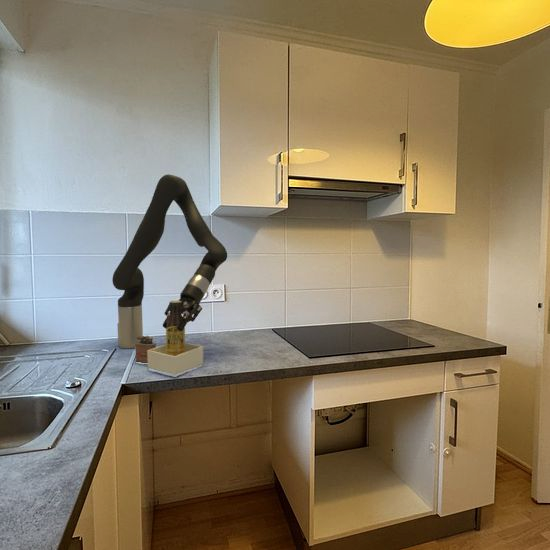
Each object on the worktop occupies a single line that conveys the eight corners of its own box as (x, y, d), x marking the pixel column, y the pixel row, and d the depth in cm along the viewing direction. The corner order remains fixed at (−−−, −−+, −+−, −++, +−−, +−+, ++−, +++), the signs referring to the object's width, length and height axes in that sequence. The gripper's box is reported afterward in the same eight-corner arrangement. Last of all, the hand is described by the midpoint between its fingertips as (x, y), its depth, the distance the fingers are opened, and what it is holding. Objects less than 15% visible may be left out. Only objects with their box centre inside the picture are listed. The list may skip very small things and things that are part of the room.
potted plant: (158, 362, 121) (157, 335, 120) (152, 365, 117) (152, 338, 117) (139, 360, 123) (138, 334, 122) (133, 363, 120) (132, 336, 119)
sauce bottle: (165, 362, 111) (163, 303, 110) (166, 356, 117) (164, 300, 116) (186, 360, 113) (184, 302, 111) (185, 354, 119) (183, 299, 117)
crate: (147, 370, 113) (147, 350, 112) (176, 359, 124) (176, 341, 124) (175, 378, 107) (174, 357, 106) (203, 365, 118) (202, 346, 117)
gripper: (175, 282, 123) (150, 320, 114) (205, 284, 116) (180, 325, 107) (186, 294, 128) (163, 331, 119) (215, 297, 121) (193, 337, 112)
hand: (171, 328), depth 113 cm, fingers closed on sauce bottle, 6 cm apart
